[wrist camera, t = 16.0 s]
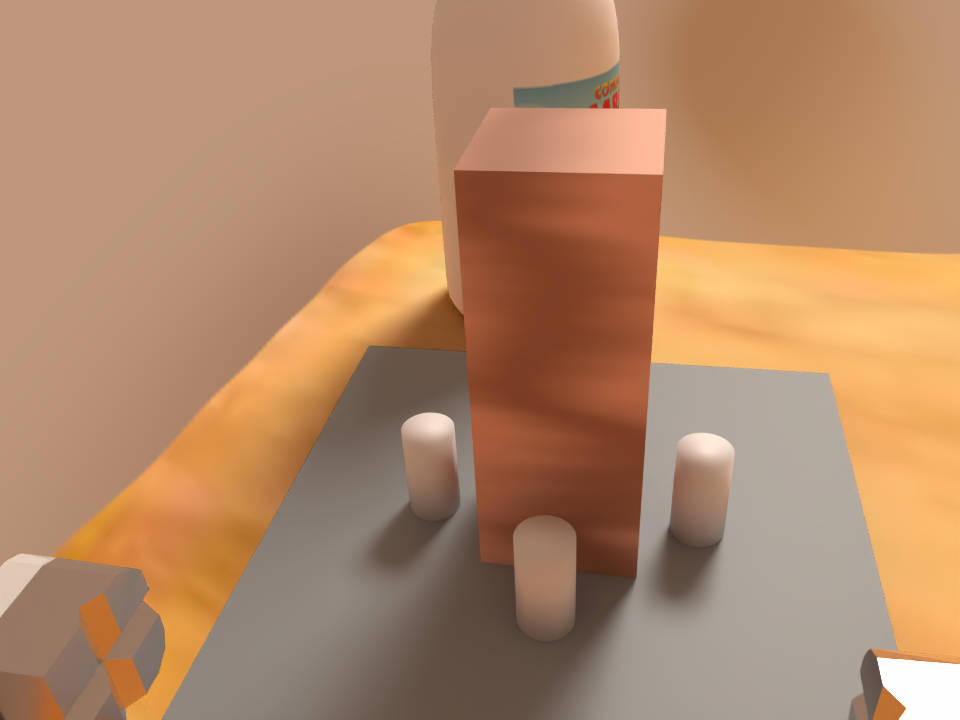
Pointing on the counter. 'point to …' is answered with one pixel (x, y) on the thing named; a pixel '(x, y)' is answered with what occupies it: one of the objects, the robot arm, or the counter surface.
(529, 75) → the milk bottle
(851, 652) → the peg plate
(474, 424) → the terracotta post
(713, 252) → the counter surface
